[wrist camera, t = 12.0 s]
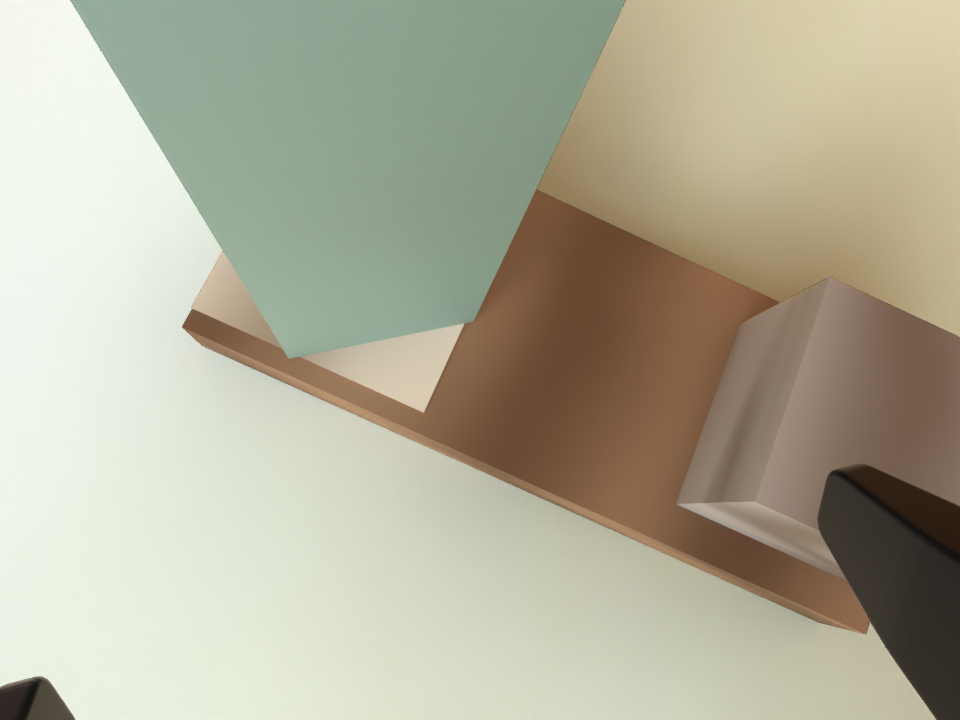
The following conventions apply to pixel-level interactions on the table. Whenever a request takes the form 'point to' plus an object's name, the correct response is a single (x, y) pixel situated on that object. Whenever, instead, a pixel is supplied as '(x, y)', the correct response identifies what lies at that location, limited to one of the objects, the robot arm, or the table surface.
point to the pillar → (356, 142)
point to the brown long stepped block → (651, 397)
